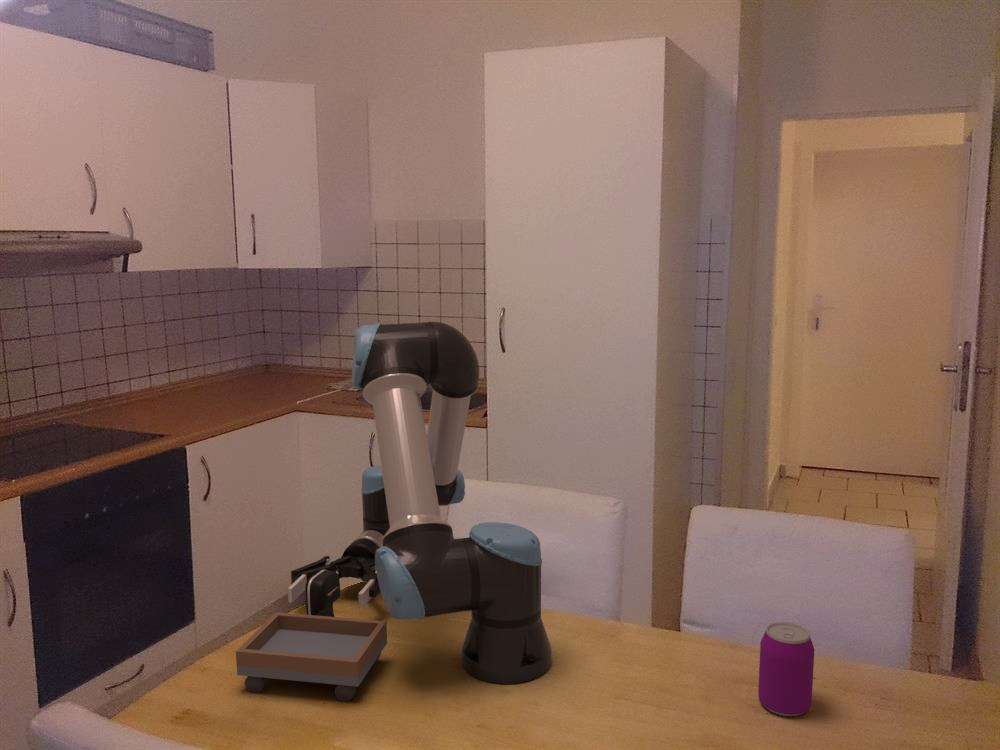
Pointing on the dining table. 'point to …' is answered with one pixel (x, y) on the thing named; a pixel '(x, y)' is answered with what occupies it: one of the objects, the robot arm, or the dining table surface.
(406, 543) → the robot arm
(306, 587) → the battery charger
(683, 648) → the dining table surface
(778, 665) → the beverage can
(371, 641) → the tray
